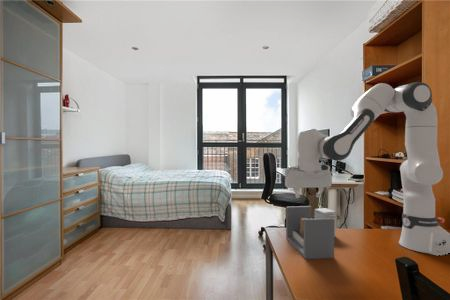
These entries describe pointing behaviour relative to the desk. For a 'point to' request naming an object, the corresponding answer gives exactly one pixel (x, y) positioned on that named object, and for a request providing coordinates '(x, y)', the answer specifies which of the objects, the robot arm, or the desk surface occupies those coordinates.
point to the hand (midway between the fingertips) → (308, 197)
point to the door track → (310, 233)
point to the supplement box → (326, 215)
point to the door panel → (302, 226)
